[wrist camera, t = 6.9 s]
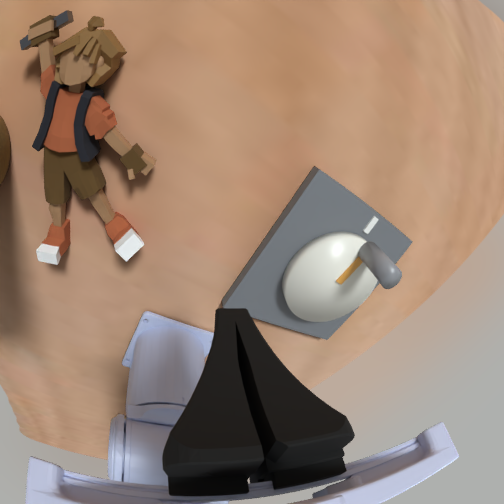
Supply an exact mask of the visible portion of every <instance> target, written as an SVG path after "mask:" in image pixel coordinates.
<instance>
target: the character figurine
mask: <svg viewBox="0 0 504 504" xmlns="http://www.w3.org/2000/svg"><path fill="white" fill-rule="evenodd" d="M73 21H74V20H73V15H72V11H65V12H63V13H61V14H60V15H58V16H51V15H49V16H47V17H46V18H44V19H42V20H40V21H38V22H37V23H35V24H33V25H31V26H30V29H29V30H28V35H27V36H26V37H24V38H23V39H22V40H20V45H21V50H28V49H29V48H30V47H39V53H40V64H41V71H42V74H41V90H40V91H41V93H42V94H43V96H44V97H45V99H46V105H45V112H44V117H43V120H42V123H41V126H40V129H39V132H38V134H37V136H36V138H35V141H34V143H33V145H32V147H33V148H34V149H36V150H37V151H40V150H41V149H42V148H44V188H45V197H46V201H47V202H48V203H50V205H49V210H50V213H51V216H52V219H53V223H52V224H51V226H50V228H49V232H48V236H47V238H46V239H45V240H44V241H43V242H42V244H41V245H40V246H39V248H38V249H37V250H36V252H37V257H38V261H41V262H46V263H51V264H56V265H58V263H59V261H60V258H61V256H62V255H63V254H64V253H65V252H66V250H67V248H68V247H69V245H70V220H69V219H65V212H66V202H67V201H68V199H69V198H70V192H71V185H72V187H73V189H74V191H75V192H76V193H77V195H78V196H79V197H80V199H81V200H84V199H86V198H88V197H89V199H90V201H91V204H92V205H93V206H94V208H95V209H96V211H97V212H98V213H99V215H100V216H101V218H102V219H103V221H104V222H105V228H106V231H107V234H108V236H109V237H110V238H111V239H112V240H113V243H114V247H115V251H116V252H117V253H118V254H119V255H120V256H121V257H122V258H123V259H124V260H125V261H126V262H127V261H128V260H129V259H130V258H131V257H132V256H133V255H134V254H135V253H136V252H137V251H138V250H139V249H140V248H141V247H142V246H143V245H144V243H143V241H142V239H141V238H140V236H139V234H138V233H137V231H136V230H135V229H134V228H133V227H132V226H131V224H130V223H129V222H128V221H127V220H126V218H125V217H124V216H123V215H121V214H119V213H117V212H115V213H114V211H113V209H112V207H111V205H110V203H109V201H108V199H107V197H106V195H105V194H104V192H103V189H102V188H103V187H104V185H105V184H106V181H105V178H104V175H103V173H102V170H101V168H100V167H99V165H98V163H97V161H96V159H95V156H96V155H97V154H98V153H99V152H100V149H101V148H100V145H99V142H98V139H102V138H104V139H105V140H106V141H107V143H108V144H109V145H110V146H111V147H112V148H113V149H114V150H115V151H116V152H117V153H119V154H120V155H121V156H122V157H121V158H120V159H119V160H120V161H121V162H122V163H123V164H124V165H125V167H126V168H127V170H128V176H129V180H131V179H135V174H137V173H138V172H139V171H140V172H142V173H143V174H144V175H147V174H148V173H149V171H150V170H151V169H152V167H153V166H154V164H155V162H156V160H155V159H154V158H153V157H151V156H150V155H148V154H147V153H146V152H144V151H143V150H142V149H141V148H140V146H139V145H138V144H135V145H134V146H133V147H132V146H131V144H130V143H129V142H128V141H127V140H126V139H125V138H124V137H123V136H122V134H121V133H120V132H119V131H118V130H117V129H116V127H115V125H116V124H117V122H116V118H115V114H114V112H113V111H112V110H110V105H109V104H108V103H107V102H106V101H105V100H104V99H103V98H104V92H103V90H102V89H98V88H95V87H94V86H98V85H101V84H103V83H104V82H105V81H106V80H107V79H108V78H110V77H111V76H112V75H113V74H114V72H115V71H116V70H117V69H118V67H119V64H120V58H121V57H122V56H123V55H125V54H126V53H127V52H126V51H125V49H124V48H123V46H122V45H121V43H120V42H119V41H118V39H117V38H116V36H115V35H114V34H113V32H112V31H111V30H98V29H97V27H104V19H103V18H101V17H96V16H93V17H92V18H91V19H90V20H89V22H88V27H86V28H84V29H82V30H81V31H79V32H78V33H76V34H75V35H73V36H72V37H70V38H69V39H68V40H66V41H65V42H63V43H61V44H59V45H57V46H55V47H54V45H53V39H55V38H57V37H59V29H60V28H62V27H64V26H66V25H67V24H69V23H71V22H73ZM59 54H60V55H59ZM57 55H59V57H58V58H57V59H56V62H55V56H57ZM86 83H88V84H89V85H90V86H87V85H86Z"/></svg>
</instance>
